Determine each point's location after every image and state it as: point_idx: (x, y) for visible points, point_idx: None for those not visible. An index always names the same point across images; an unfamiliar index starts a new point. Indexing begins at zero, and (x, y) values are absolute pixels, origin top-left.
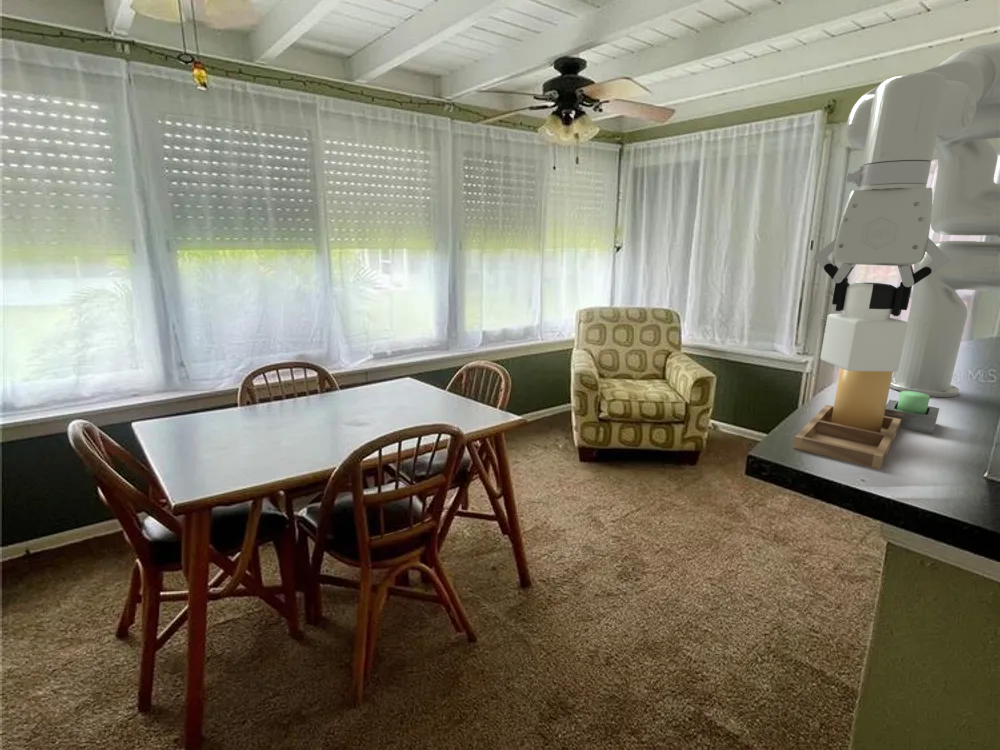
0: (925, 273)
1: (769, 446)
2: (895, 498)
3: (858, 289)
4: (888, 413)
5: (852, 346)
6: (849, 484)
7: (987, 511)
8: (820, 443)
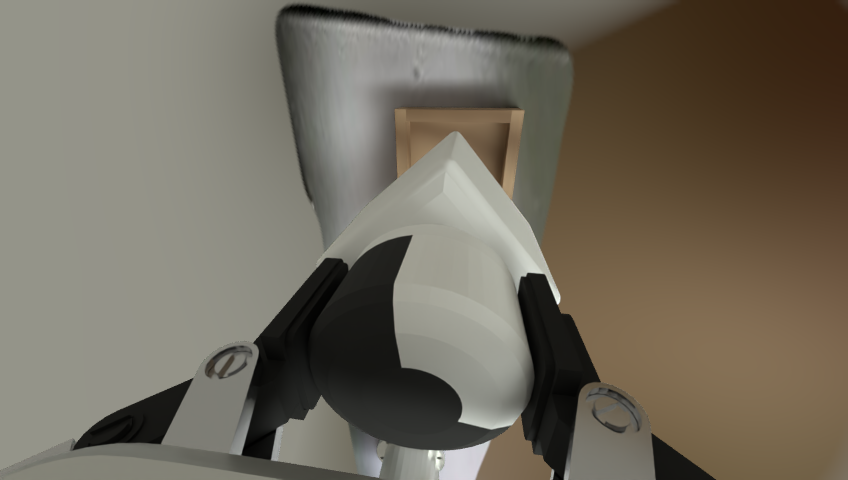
0: (117, 414)
1: (557, 123)
2: (370, 32)
3: (466, 296)
4: None
5: (452, 141)
6: (428, 38)
7: (286, 80)
8: (482, 110)
